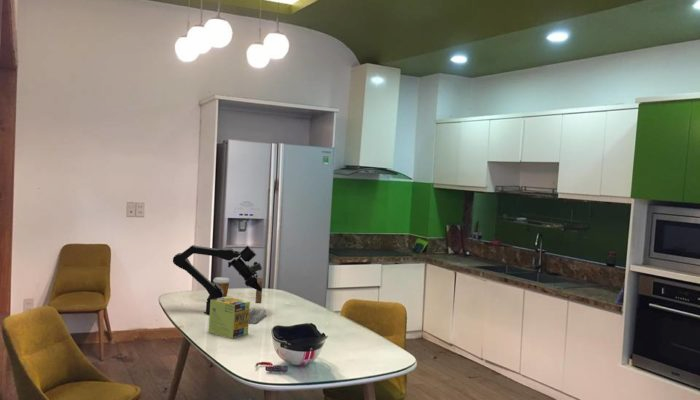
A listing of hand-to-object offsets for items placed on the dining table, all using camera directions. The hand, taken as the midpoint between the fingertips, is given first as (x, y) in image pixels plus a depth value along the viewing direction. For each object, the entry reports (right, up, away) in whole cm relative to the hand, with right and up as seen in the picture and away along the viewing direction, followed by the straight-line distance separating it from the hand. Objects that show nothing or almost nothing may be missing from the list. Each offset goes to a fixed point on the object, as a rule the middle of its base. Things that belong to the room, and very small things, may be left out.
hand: (261, 289), depth 306 cm
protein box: (-10, -15, -38) cm, 41 cm away
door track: (-3, -14, -9) cm, 17 cm away
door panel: (-2, -7, 0) cm, 7 cm away
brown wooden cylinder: (-29, -11, +32) cm, 44 cm away
